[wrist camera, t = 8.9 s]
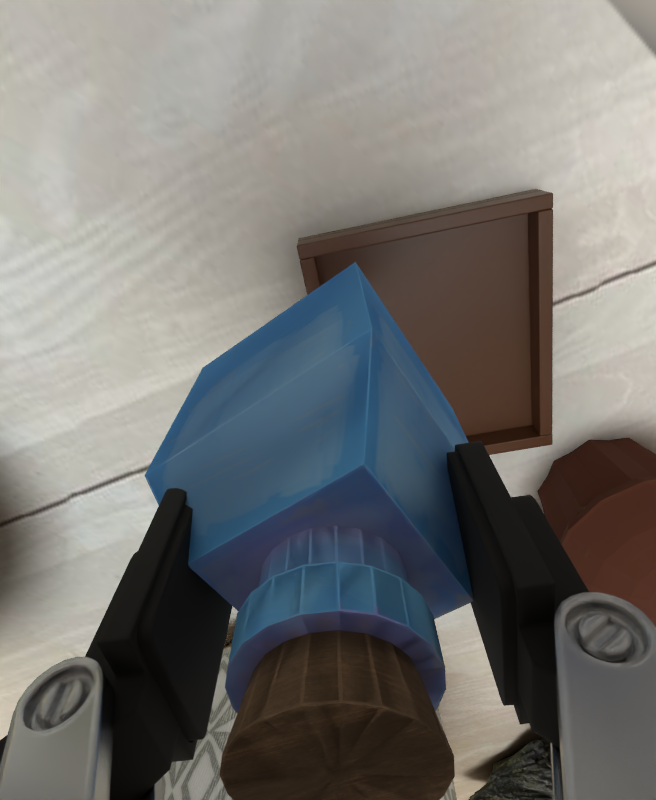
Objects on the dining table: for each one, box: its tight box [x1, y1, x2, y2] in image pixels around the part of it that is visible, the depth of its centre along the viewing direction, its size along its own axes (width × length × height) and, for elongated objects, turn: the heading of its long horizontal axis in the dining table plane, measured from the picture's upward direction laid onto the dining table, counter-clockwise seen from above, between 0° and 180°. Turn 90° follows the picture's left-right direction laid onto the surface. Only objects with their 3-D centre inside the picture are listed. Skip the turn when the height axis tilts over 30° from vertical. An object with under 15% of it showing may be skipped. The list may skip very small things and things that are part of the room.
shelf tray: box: [297, 189, 553, 455], centre depth 31 cm, size 16×14×2 cm
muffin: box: [538, 438, 656, 628], centre depth 33 cm, size 12×11×10 cm
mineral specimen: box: [469, 737, 553, 800], centre depth 50 cm, size 15×13×10 cm
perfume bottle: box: [145, 262, 474, 800], centre depth 12 cm, size 6×6×12 cm
